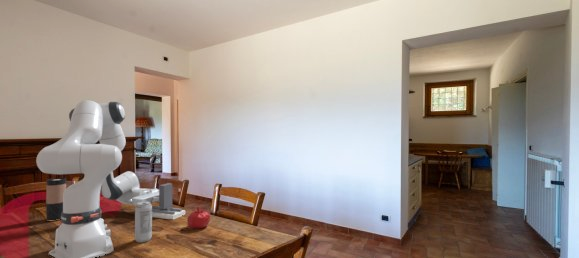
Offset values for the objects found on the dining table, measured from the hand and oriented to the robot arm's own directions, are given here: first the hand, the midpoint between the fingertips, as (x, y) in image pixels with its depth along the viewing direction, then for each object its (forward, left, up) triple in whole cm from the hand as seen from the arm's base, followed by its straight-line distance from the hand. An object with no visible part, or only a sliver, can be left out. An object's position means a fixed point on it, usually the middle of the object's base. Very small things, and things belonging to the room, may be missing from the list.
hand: (163, 198), depth 142 cm
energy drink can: (-27, +20, -9) cm, 34 cm away
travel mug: (+33, +38, -9) cm, 51 cm away
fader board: (0, 0, -8) cm, 8 cm away
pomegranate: (-30, -3, -9) cm, 31 cm away
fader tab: (-1, -1, -6) cm, 6 cm away
